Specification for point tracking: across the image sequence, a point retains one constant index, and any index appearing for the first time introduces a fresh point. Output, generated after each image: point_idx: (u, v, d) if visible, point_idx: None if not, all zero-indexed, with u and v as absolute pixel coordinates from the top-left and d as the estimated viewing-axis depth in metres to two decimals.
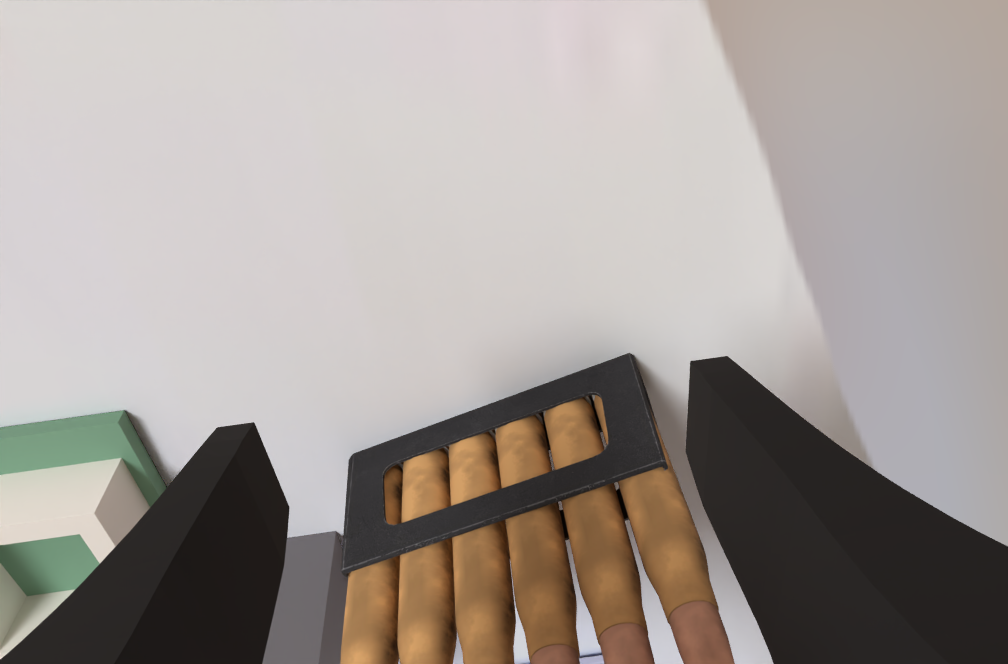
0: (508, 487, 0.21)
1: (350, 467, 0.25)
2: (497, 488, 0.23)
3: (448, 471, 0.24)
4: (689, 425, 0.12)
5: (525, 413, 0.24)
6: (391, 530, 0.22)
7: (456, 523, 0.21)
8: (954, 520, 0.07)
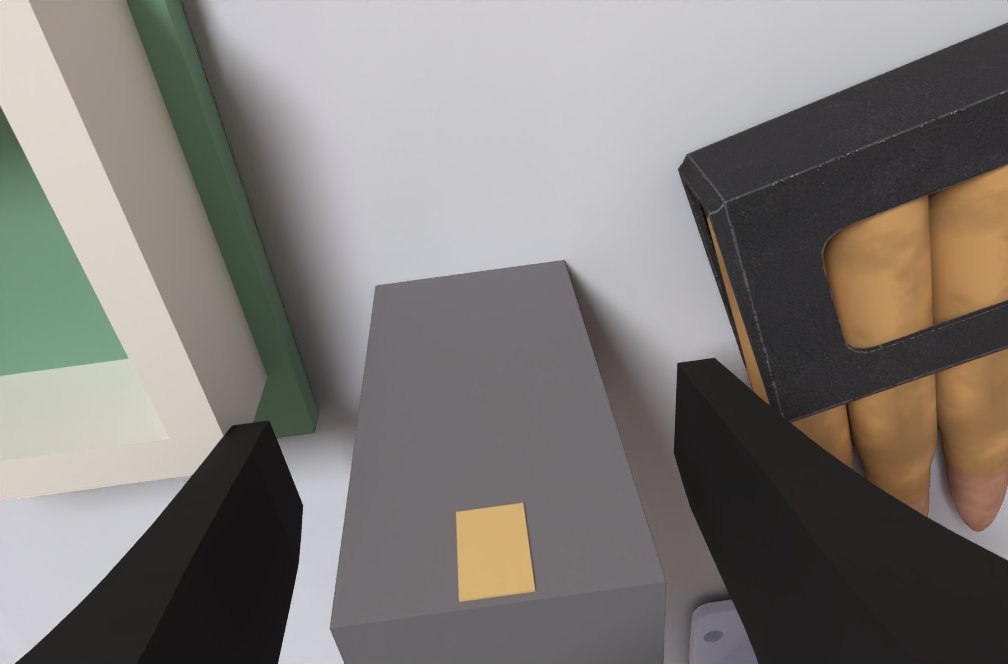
0: None
1: (727, 238, 0.11)
2: None
3: None
4: (677, 427, 0.12)
5: None
6: (864, 361, 0.13)
7: (990, 342, 0.13)
8: (934, 523, 0.07)
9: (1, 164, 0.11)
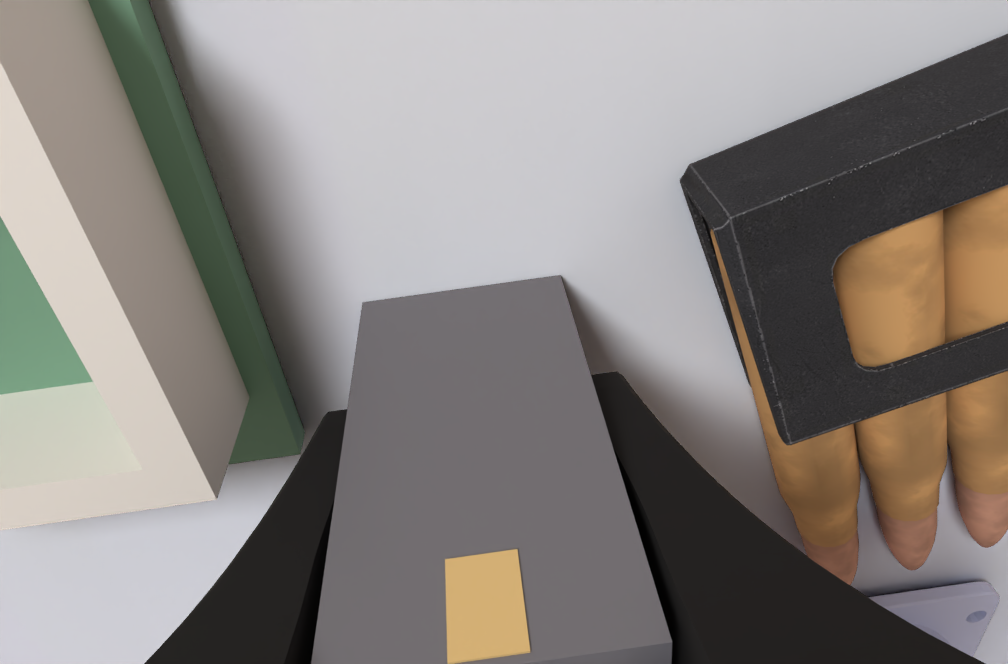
0: None
1: (733, 255, 0.10)
2: None
3: None
4: None
5: None
6: (874, 380, 0.12)
7: (1005, 360, 0.12)
8: (786, 544, 0.07)
9: None
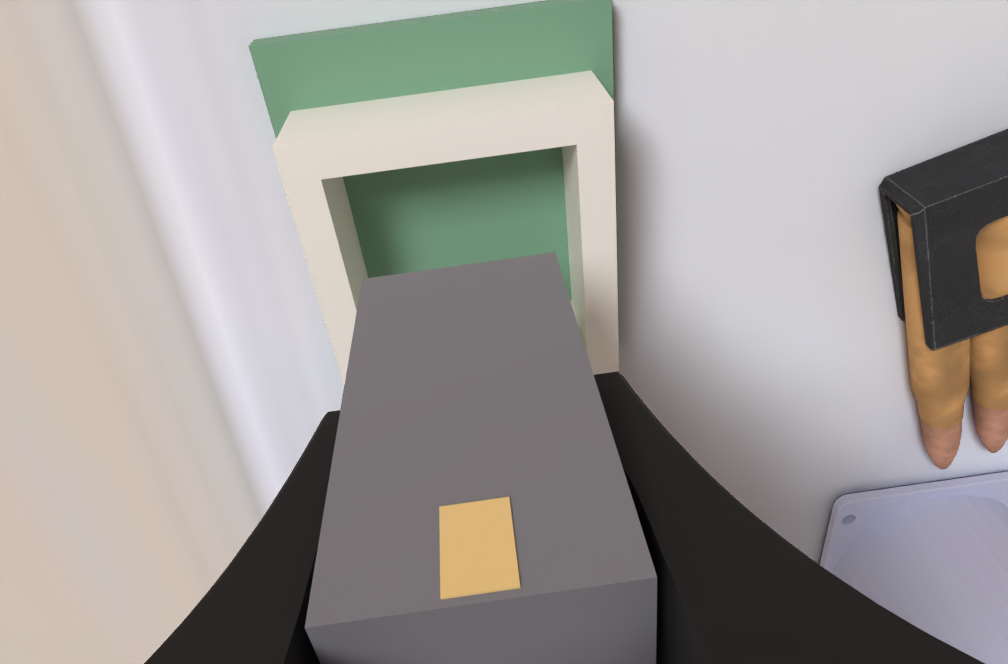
0: None
1: (922, 229, 0.18)
2: None
3: None
4: None
5: None
6: (991, 307, 0.20)
7: None
8: (786, 544, 0.07)
9: (490, 185, 0.18)
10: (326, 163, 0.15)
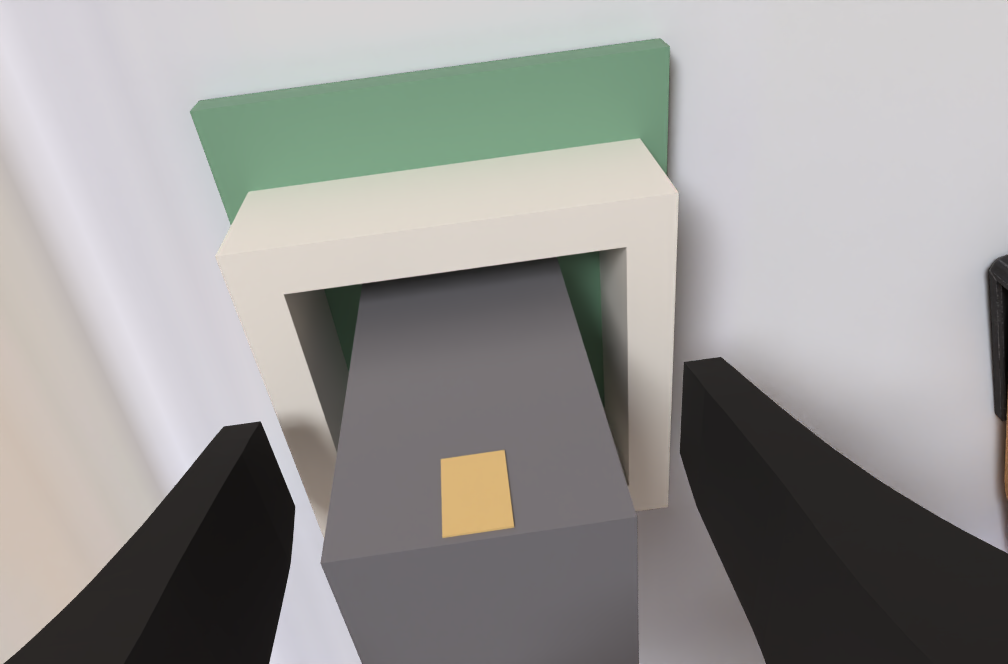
0: None
1: None
2: None
3: None
4: (683, 426, 0.12)
5: None
6: None
7: None
8: (944, 522, 0.07)
9: None
10: (290, 274, 0.11)
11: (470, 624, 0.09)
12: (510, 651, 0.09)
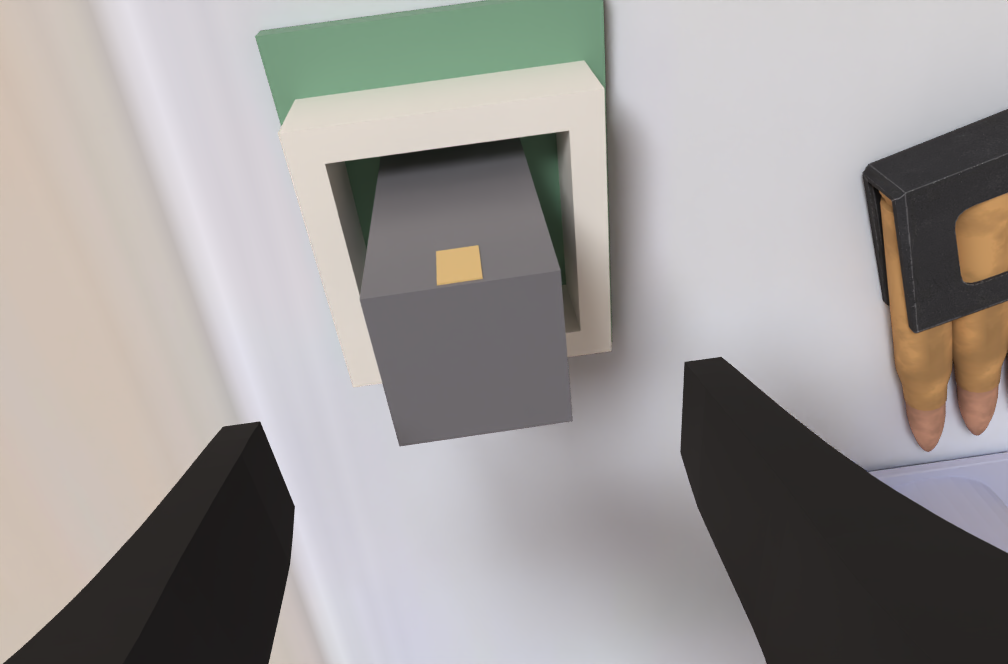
0: None
1: (902, 214, 0.19)
2: None
3: None
4: (683, 426, 0.12)
5: None
6: (971, 290, 0.21)
7: None
8: (945, 521, 0.07)
9: None
10: (330, 148, 0.15)
11: (455, 357, 0.13)
12: (483, 383, 0.14)
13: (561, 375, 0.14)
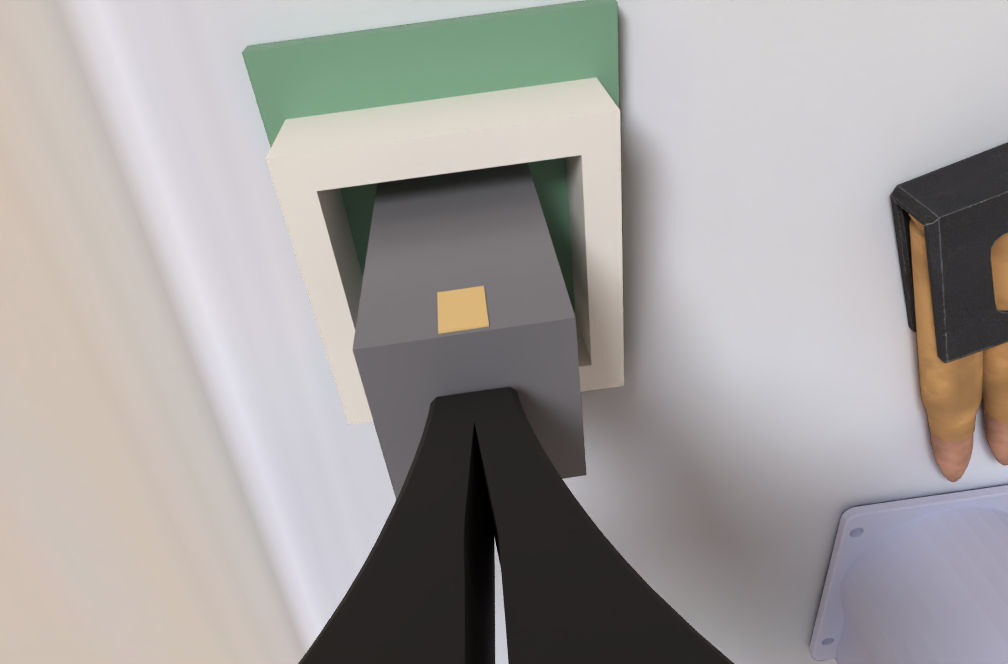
0: None
1: (935, 239, 0.18)
2: None
3: None
4: None
5: None
6: (1005, 319, 0.19)
7: None
8: (624, 567, 0.07)
9: None
10: (322, 174, 0.14)
11: None
12: None
13: (574, 427, 0.12)
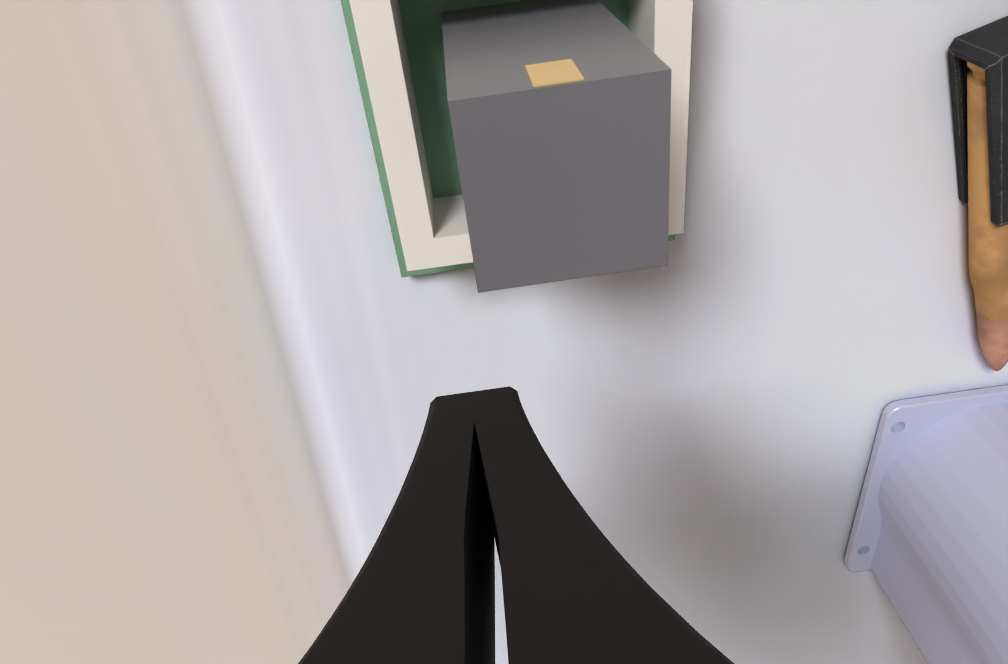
0: None
1: (997, 83, 0.18)
2: None
3: None
4: None
5: None
6: None
7: None
8: (624, 567, 0.07)
9: None
10: None
11: (547, 179, 0.12)
12: (574, 214, 0.12)
13: (660, 206, 0.12)
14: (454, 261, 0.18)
